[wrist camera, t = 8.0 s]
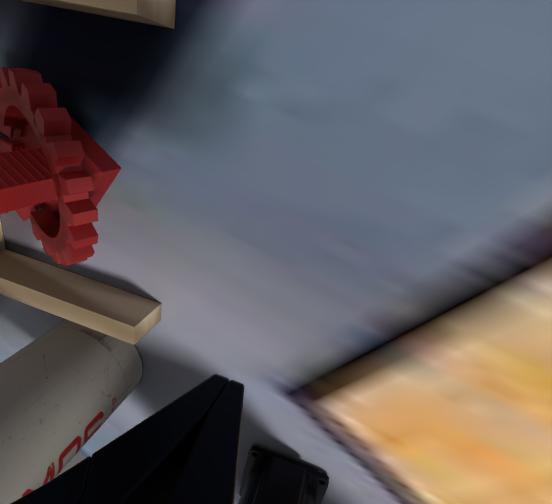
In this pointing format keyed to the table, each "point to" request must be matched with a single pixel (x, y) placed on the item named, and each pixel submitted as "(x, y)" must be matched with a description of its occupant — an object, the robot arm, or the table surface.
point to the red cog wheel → (50, 167)
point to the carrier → (69, 286)
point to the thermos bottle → (58, 401)
